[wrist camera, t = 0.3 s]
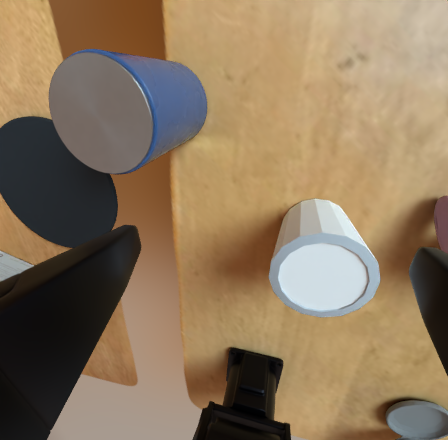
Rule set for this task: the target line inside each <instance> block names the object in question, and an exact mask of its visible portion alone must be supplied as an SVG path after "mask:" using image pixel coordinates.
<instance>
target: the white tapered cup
mask: <svg viewBox="0 0 448 440" xmlns="http://www.w3.org/2000/svg"><path fill="white" fill-rule="evenodd" d="M269 279H270V282H271V285H272V288H273V291H274V293H275V294H276V295H277V296H278V297H279V298H280V299H281V301H282V302H283V303H284V304H285V305H287V306H289V307H291V308H292V309H294V310H296V311H298V312H300V313H302V314H307V315H312V316H317V317H333V316H342V315H345V314H347V313H350V312H353V311H355V310H358V309H360V308H361V307H362V306H363V305H365V304H366V303H367V302H368V301H369V300H370V299H371V298H372V297H374V295H375V292H376V290H377V287H378V285H379V283H380V273H379V266H378V262H377V260H376V259H375V257H374V256H373V254H372V253H371V251H370V250H369V248H368V247H367V245H366V244H365V242H364V241H363V239H362V238H361V236H360V235H359V233H358V232H357V230H356V229H355V227H354V226H353V224H352V223H351V221H350V220H349V218H348V217H347V215H346V214H345V213H344V211H343V210H342V209H341V207H340V206H338V205H336V204H334V203H332V202H330V201H329V200H322V199H310V200H306V201H301V202H300V203H298V204H297V205H295V206H293V207H292V208H290V210H289V211H288V212H287V214H286V215H285V217H284V218H283V222H282V225H281V229H280V232H279V236H278V239H277V243H276V246H275V250H274V254H273V257H272V261H271V266H270V272H269Z"/></svg>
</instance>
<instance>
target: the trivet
mask: <svg viewBox="0 0 448 440" xmlns="http://www.w3.org/2000/svg"><path fill="white" fill-rule="evenodd" d="M0 193H1V195H2V197H3V198H4V200H5V202H6V203H7V205H8V206H9V207H10V209H11V210H12V211H13V213H14V214H15V215H16V216H17V217H18V218H19V219H20V220H21V221H22V222H23V223H24V224H25V225H26V226H27V227H28V228H30V229H31V230H32V231H33V232H35V233H36V234H38V235H39V236H41V237H43V238H44V239H46V240H48V241H50V242H52V243H55V244H58V245H61V246H65V247H70V248H75V247H77V246H79V245H81V244H83V243H86V242H88V241H90V240H92V239H94V238H96V237H99V236H101V235H103V234H105V233H107V232H110V231H111V230H112V228H113V226H114V224H115V221H116V217H117V210H118V203H117V195H116V190H115V186H114V183H113V180H112V178H111V176H110V174H109V173H104V172H100V171H97V170H95V169H93V168H91V167H89V166H87V165H85V164H84V163H83V162H81V161H80V160H79V159H77V158H76V157H75V156H74V155H73V154H72V153H71V152H70V151H69V149H68V148H67V147H66V146H65V144H64V143H63V141H62V140H61V138H60V136H59V135H58V133H57V131H56V128H55V126H54V123H53V120H50V119H47V118H43V117H34V116H29V117H22V118H16V119H14V120H11V121H9V122H7V123H6V124H4V125H3V126H2V127H1V128H0Z"/></svg>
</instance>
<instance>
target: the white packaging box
mask: <svg viewBox="0 0 448 440" xmlns="http://www.w3.org/2000/svg"><path fill="white" fill-rule="evenodd" d="M33 266H34V265H32V264H29V263H27V262H25V261H23V260H20V259H18V258H16V257H14V256H11V255H9V254H7V253H4V252H2V251H0V281H2V280H4V279H7V278H9V277H11V276H13V275H15V274H18V273H21V272H22V271H24V270H26V269H29V268H31V267H33Z"/></svg>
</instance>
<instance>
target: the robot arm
mask: <svg viewBox="0 0 448 440" xmlns="http://www.w3.org/2000/svg"><path fill="white" fill-rule="evenodd" d="M140 251H141V242H140V238H139V233H138V229H137V227H136V226H133V225H123V226H121V227H118V228H116V229H114V230H112V231H110V232H107V233H105V234H103V235H101V236H99V237H96V238H94V239H92V240H90V241H88V242H86V243H83V244H81V245H79V246H77V247H75V248H72V249H70V250H68V251H66V252H64V253H61V254H59V255H57V256H55V257H53V258H51V259H48V260H46V261H44V262H42V263H40V264H37V265H35V266H33V267H31V268H29V269H26V270H24V271H22V272H21V273H18V274H15V275H13V276H11V277H9V278H7V279H4V280H2V281H0V440H47V438H48V436H49V434H50V430H52V428H53V426H54V424H55V422H56V421H57V419H58V417H59V415H60V413H61V411H62V409H63V407H64V405H65V403H66V402H67V400H68V398H69V396H70V394H71V392H72V390H73V388H74V386H75V384H76V383H77V381H78V379H79V377H80V375H81V373H82V371H83V369H84V367H85V365H86V363H87V362H88V360H89V358H90V356H91V354H92V352H93V350H94V348H95V346H96V344H97V343H98V341H99V339H100V337H101V335H102V333H103V331H104V329H105V327H106V325H107V324H108V322H109V320H110V318H111V316H112V314H113V312H114V310H115V308H116V306H117V305H118V303H119V301H120V299H121V297H122V295H123V293H124V291H125V289H126V287H127V285H128V282H129V279H130V277H131V275H132V272H133V269H134V267H135V264H136V262H137V259H138V257H139V254H140ZM409 276H410V279H411V283H412V286H413V289H414V292H415V296H416V299H417V302H418V305H419V309H420V312H421V315H422V318H423V321H424V323H425V326H426V328H427V330H428V333H429V335H430V337H431V340H432V342H433V344H434V346H435V349H436V351H437V353H438V355H439V358H440V360H441V362H442V365H443V367H444V369H445V371H446V374H447V376H448V254H447V253H445V252H443V251H441V250H440V249H438V248H432V247H421V248H419V249H418V250H417V252H416V254H415V256H414V259H413V261H412V263H411V265H410V268H409ZM282 368H283V360H281V359H278V358H274V357H270V356H265V355H261V354H257V353H253V352H249V351H245V350H241V349H236V348H230V351H229V358H228V368H227V377H226V381H227V387H226V391H225V396H224V401H223V405H219V404H215V403H214V402H212V401H210V402H209V405H208V407H207V408H203V410H202V413H201V417H200V420H199V424H198V427H197V430H196V432H195V435H194V437H193V440H291V433H290V424H288V423H281V422H277V421H274V412H275V394H276V391H277V388H278V384H279V380H280V376H281V372H282Z"/></svg>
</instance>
